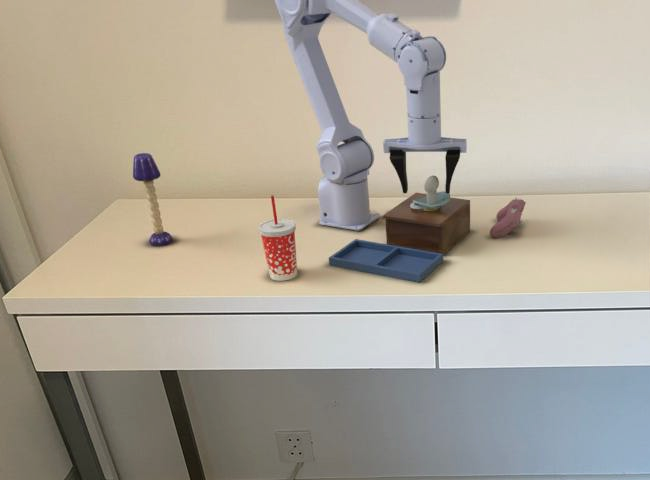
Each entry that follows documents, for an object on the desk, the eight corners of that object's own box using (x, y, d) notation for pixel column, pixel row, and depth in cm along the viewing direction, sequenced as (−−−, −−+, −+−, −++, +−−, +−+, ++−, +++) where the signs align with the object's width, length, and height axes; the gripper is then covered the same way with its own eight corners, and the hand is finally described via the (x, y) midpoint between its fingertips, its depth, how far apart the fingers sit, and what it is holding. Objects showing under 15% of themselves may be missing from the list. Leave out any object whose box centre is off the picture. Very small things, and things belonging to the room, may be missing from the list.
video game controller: (508, 247, 141) (526, 216, 137) (487, 235, 141) (504, 204, 137) (515, 228, 149) (532, 198, 146) (494, 217, 149) (511, 187, 145)
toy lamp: (180, 240, 143) (161, 152, 134) (162, 249, 139) (142, 159, 131) (161, 236, 145) (141, 149, 136) (143, 245, 141) (121, 156, 132)
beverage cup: (284, 285, 125) (273, 204, 118) (257, 277, 128) (244, 198, 121) (309, 272, 130) (299, 193, 122) (282, 264, 132) (271, 187, 125)
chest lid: (440, 227, 131) (439, 224, 131) (382, 218, 135) (382, 215, 135) (470, 203, 141) (470, 200, 141) (416, 195, 145) (415, 192, 145)
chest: (442, 256, 134) (441, 225, 131) (386, 246, 139) (384, 217, 136) (470, 231, 144) (470, 203, 141) (417, 223, 148) (416, 195, 145)
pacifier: (403, 208, 138) (423, 216, 134) (400, 175, 135) (421, 182, 131) (433, 199, 142) (454, 206, 138) (432, 166, 139) (453, 172, 134)
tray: (419, 282, 125) (419, 274, 124) (329, 265, 132) (328, 257, 131) (443, 261, 132) (443, 253, 132) (356, 246, 139) (355, 238, 138)
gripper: (466, 108, 132) (467, 184, 139) (384, 109, 133) (389, 184, 140) (465, 118, 126) (466, 197, 133) (379, 119, 127) (384, 197, 134)
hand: (426, 191), depth 136 cm, fingers open, 7 cm apart
